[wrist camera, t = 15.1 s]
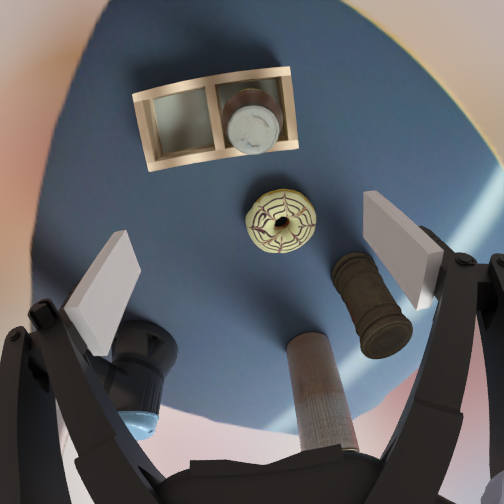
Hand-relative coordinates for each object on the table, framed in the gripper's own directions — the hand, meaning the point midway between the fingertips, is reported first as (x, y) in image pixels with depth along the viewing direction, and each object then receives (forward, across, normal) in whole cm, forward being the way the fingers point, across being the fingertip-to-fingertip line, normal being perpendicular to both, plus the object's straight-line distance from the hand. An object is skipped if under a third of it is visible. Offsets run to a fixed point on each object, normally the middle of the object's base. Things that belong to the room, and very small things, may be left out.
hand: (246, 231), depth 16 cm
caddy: (+30, -2, +5) cm, 30 cm away
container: (+30, +17, -26) cm, 43 cm away
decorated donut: (+30, +4, -13) cm, 33 cm away
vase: (+30, +8, -45) cm, 55 cm away
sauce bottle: (+29, +2, +4) cm, 29 cm away
